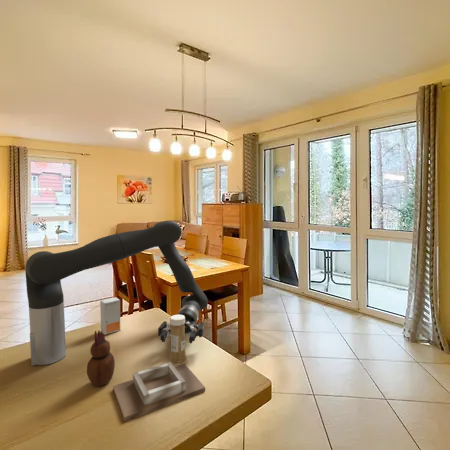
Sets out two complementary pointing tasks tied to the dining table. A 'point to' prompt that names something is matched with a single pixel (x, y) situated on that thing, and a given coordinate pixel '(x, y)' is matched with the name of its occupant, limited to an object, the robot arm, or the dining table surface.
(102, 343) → the wooden figurine
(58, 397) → the dining table surface
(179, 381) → the board
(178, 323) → the sprinkles bottle
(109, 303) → the skincare box
